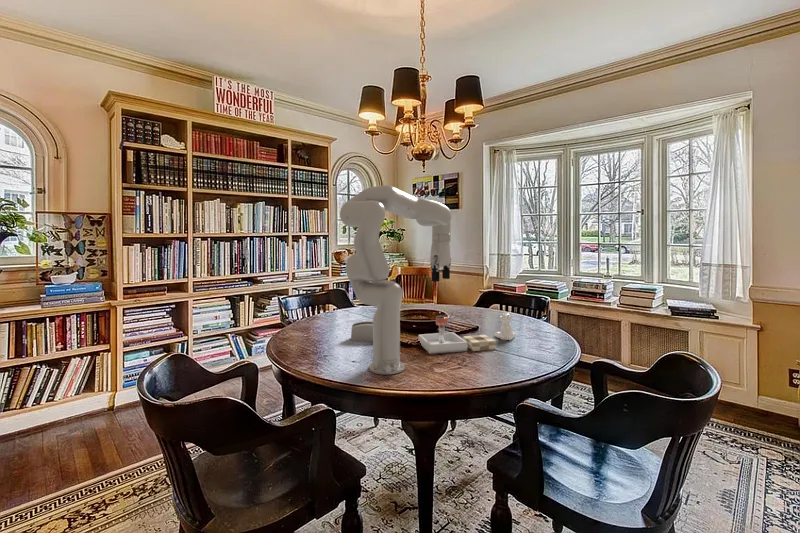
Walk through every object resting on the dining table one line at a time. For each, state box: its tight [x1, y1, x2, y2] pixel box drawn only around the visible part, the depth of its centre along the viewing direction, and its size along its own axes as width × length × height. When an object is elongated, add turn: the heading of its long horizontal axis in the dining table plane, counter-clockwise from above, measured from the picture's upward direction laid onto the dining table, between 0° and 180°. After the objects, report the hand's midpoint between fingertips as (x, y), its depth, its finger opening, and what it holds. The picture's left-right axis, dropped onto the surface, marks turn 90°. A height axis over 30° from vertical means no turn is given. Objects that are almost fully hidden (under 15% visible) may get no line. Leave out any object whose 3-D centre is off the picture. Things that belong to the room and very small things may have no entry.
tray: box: [418, 331, 468, 355], centre depth 167 cm, size 16×16×4 cm
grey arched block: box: [350, 320, 373, 342], centre depth 178 cm, size 17×5×10 cm, turn 87°
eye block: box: [462, 334, 497, 352], centre depth 167 cm, size 10×10×4 cm
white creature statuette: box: [494, 312, 516, 341], centre depth 178 cm, size 10×9×12 cm
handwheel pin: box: [435, 314, 449, 344], centre depth 167 cm, size 5×5×12 cm
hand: (440, 279), depth 165 cm, fingers open, 9 cm apart
